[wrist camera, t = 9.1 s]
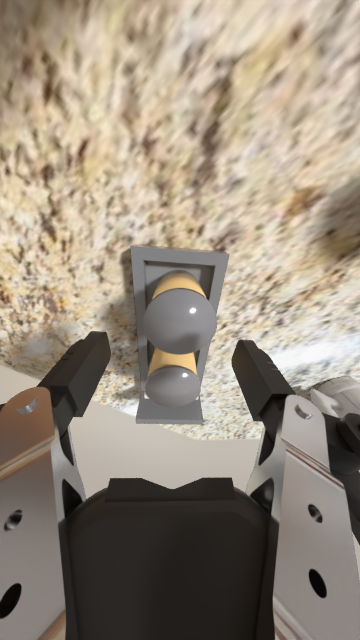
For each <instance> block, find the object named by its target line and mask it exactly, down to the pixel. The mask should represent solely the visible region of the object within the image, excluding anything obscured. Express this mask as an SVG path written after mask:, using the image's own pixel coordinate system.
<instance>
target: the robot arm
mask: <svg viewBox="0 0 360 640" xmlns="http://www.w3.org/2000/svg"><path fill="white" fill-rule="evenodd" d="M110 355H111V351H110V346H109V341H108V336H107V333H106V332H99V331H91V332H90V333H89V334H88V336H87V337H86V338H85V339H84V340H83V339H81V340H79V341H78V342H76V343H75V344H73V345H72V346H71V347H70V348H69V349H68V350H67V352H66V354H64V355H63V356H62V357H61V359H60V360H59V361H58V362H57V363H56V364H55V366H54V367H53V368H52V369H51V370H50V371H49V373H48V374H47V375H46V376H45V377H44V378H43V380H42V381H41V382H40V383H39V384H38V386H37V387H34V388H30V389H27V390H25V391H22V392H20V393H19V394H17V395H15V396H14V397H13V398H11V399H10V400H9V401H8V402H7V403H5V404H1V405H0V640H360V581H359V574H358V568H357V561H356V555H355V549H354V542H353V535H352V532H353V534H354V535H355V537H356V539H357V541H358V543H359V545H360V472H359V471H358V470H360V415H359V414H355V413H348V414H346V415H345V416H344V417H342V418H338V417H335V416H332V415H328V414H325V413H322V412H320V410H319V409H318V408H317V407H316V406H315V405H314V404H313V403H311V402H310V401H309V400H307V399H305V398H303V397H301V396H298V395H296V394H295V392H294V391H293V390H292V388H291V387H290V385H289V384H288V382H287V381H286V380H285V378H284V377H283V375H282V374H281V372H280V371H279V370H278V368H277V367H276V365H275V364H273V361H272V360H271V358H270V357H269V355H267V354H266V353H265V352H264V351H263V350H261V349H258V347H257V346H256V344H255V343H254V341H252V340H239V341H238V343H237V345H236V348H235V351H234V354H233V356H232V367H233V370H234V373H235V375H236V378H237V380H238V383H239V385H240V388H241V390H242V393H243V395H244V398H245V400H246V403H247V405H248V408H249V410H250V413H251V415H252V418H253V421H262V422H263V424H264V426H265V427H264V428H263V430H262V435H261V439H260V444H259V448H258V452H257V457H256V461H255V466H254V469H253V472H252V474H251V476H250V478H249V480H248V483H247V487H246V490H245V492H243V491H241V490H240V489H238V488H236V487H234V486H233V481H232V478H201V479H199V480H196V481H194V482H191V483H189V484H186V485H184V486H181V487H179V488H176V489H168V488H166V487H163V486H161V485H158V484H155V483H153V482H150V481H147V480H145V479H142V478H111V479H110V482H109V486H108V487H107V488H105V489H102V490H101V491H99V492H97V493H95V494H94V495H92V496H91V497H89V498H88V499H86V496H85V491H84V487H83V483H82V479H81V477H80V474H79V471H78V468H77V464H76V458H75V453H74V447H73V442H72V437H71V432H70V427H69V424H70V422H71V420H72V418H73V417H82V416H83V414H84V412H85V410H86V408H87V406H88V404H89V402H90V400H91V398H92V396H93V394H94V392H95V390H96V388H97V385H98V383H99V381H100V379H101V377H102V375H103V373H104V371H105V369H106V367H107V365H108V363H109V360H110Z"/></svg>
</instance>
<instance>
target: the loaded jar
mask: <svg viewBox="0 0 360 640" xmlns="http://www.w3.org/2000/svg"><path fill="white" fill-rule="evenodd" d="M200 390H201V389H200V382H199V378H198V376H197V371H196V364H195V357H194V352H193V353H189V354H183V355H176V354H170V353H166V352H164V351H161V350H159V349H158V348H156V347H155V346H154V351H153V356H152V362H151V367H150V373H149V376H148V378H147V381H146V386H145V393H146V395H147V397H148V398H149V399H150V400H151V401H153V402H154V403H156V404H158V405H162V406H166V407H179V406H184V405H187V404H189V403H191V402H193V401H194V400H195V399H196V398H197V397H198V396H199V394H200Z"/></svg>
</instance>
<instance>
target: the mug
mask: <svg viewBox="0 0 360 640" xmlns="http://www.w3.org/2000/svg"><path fill="white" fill-rule="evenodd" d="M309 393H310V395H311V397H310V398H311V400H312V402H313V404H314V405H315V406H316V407H317V408H318V409H319V410H320V412H322V413H325V414H328V415H332V416H335V417H338V418H342V417H344V416H345V415H346V414H348V413H355V414H359V415H360V383H359V382H357V381H356V380H355V379H353V378H351V377H339V378H334V379H331V380H330V381H327V382H325V383H324V384H322V385H321V386H320V387H319V388H318V389H317V390H315V389H311V390H310V391H309Z"/></svg>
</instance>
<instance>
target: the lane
mask: <svg viewBox="0 0 360 640" xmlns="http://www.w3.org/2000/svg"><path fill="white" fill-rule="evenodd" d="M130 247H131V260H132V273H133V286H134V299H135V312H136V325H137V338H138V351H139V364H140V377H141V390H142V392H141V396H140V401H139V406H138V410H137V415H136V423H138V424H141V423H142V424H143V423H144V424H201V425H202V422H203V416H202V409H201V402H200V395H199V397H198V400H194V401H193V402H191V403H189V404H187V405H184V406H179V407H166V406H162V405H158V404H156V403H154V402H153V401H151V400H150V399H148V398H145V397H144V392H145V386H146V381H147V377H148V372H149V367H150V361H151V358H152V356H153V351H154V345H153V344H152V343H151V342H150V341H149V340H148V338H147V337H146V335H145V332H144V328H143V319H144V315H145V312H146V310H147V307H148V305H149V304H150V302H151V301H152V298H153V296H154V293H155V290H156V287H157V284H158V282H159V280H160V279H161V277H162V276H163V275H165V274H166V273H168V272H170V271H173V270H185V271H187V272H190V273H191V274H193V275H194V276H195V277H196V278H197V280H198V282H199V284H200V286H201V288H202V290H203V292H204V294H205V296H206V298H207V299H208V301H209V302H210V303H211V305H212V307H213V309H214V311H215V314H217V309H218V305H219V300H220V295H221V291H222V286H223V282H224V277H225V273H226V268H227V263H228V259H229V254H228V253H226V252H220V251H208V250H195V249H183V248H171V247H158V246H146V245H133V246H130ZM209 346H210V342H209V343H208V344H207V345H206V346H204V347H203V348H201V349H200V350H198V351H196V352H194V357H195V364H196V371H197V376H198V378H199V382H200V387H201V382H202V378H203V373H204V369H205V364H206V359H207V355H208V350H209Z"/></svg>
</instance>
